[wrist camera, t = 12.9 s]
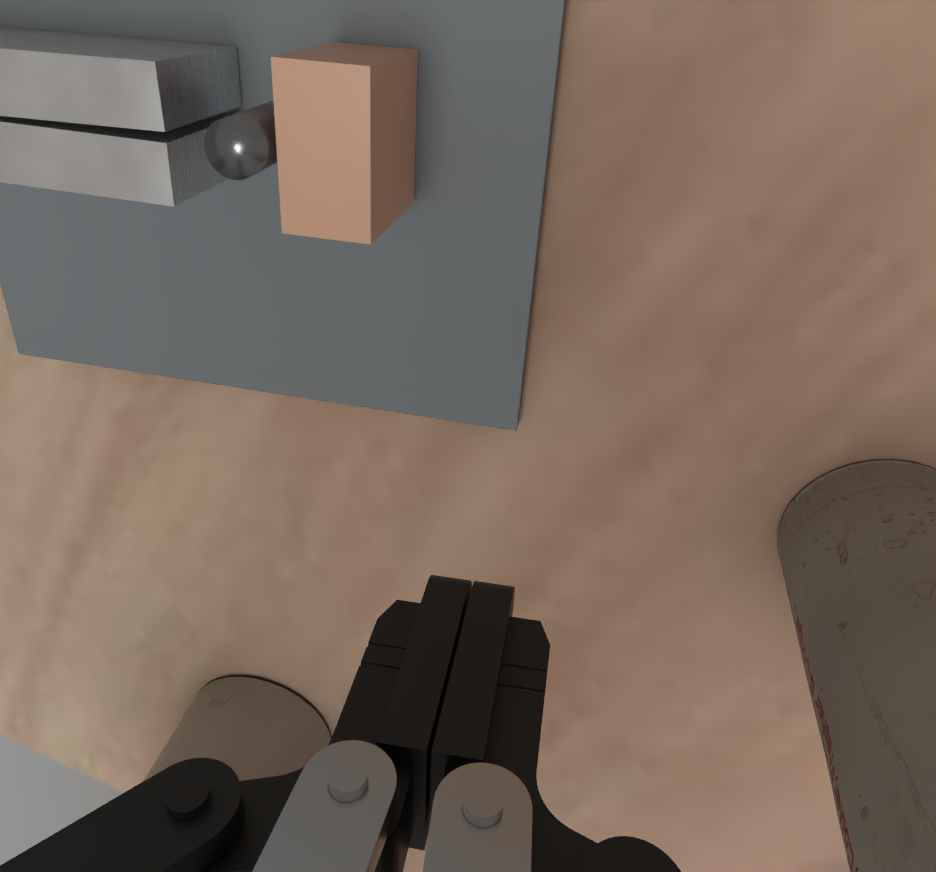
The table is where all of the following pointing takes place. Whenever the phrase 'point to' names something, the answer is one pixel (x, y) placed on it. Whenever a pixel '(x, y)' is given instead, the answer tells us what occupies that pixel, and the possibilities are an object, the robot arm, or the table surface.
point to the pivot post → (242, 142)
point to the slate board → (308, 258)
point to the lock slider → (345, 138)
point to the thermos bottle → (871, 651)
